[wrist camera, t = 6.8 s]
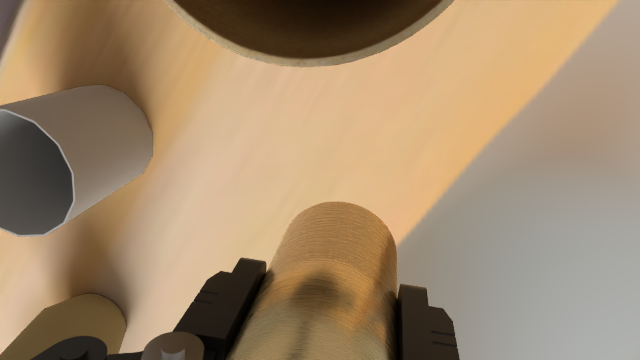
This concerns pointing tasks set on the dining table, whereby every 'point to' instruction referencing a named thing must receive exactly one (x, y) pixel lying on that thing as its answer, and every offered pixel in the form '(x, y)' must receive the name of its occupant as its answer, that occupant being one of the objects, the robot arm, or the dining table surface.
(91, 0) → the dining table surface
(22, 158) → the cup
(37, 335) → the squeeze bottle
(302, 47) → the plant pot
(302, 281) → the spice shaker
